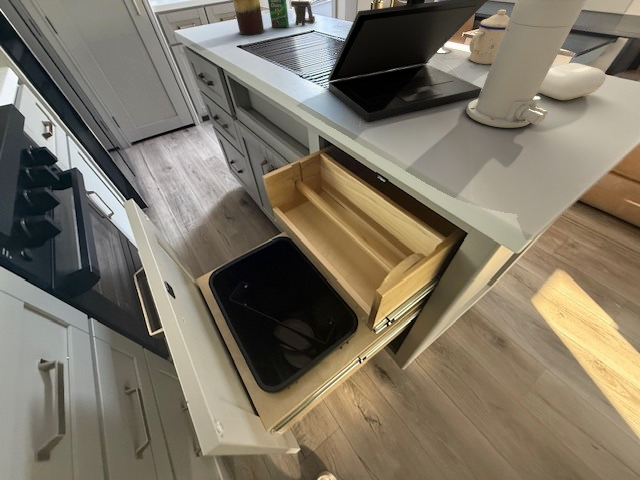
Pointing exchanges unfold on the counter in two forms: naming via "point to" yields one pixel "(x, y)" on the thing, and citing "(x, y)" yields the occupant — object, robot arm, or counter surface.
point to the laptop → (401, 91)
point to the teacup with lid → (488, 38)
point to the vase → (249, 16)
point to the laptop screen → (400, 36)
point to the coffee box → (278, 13)
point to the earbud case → (571, 81)
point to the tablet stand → (302, 11)
